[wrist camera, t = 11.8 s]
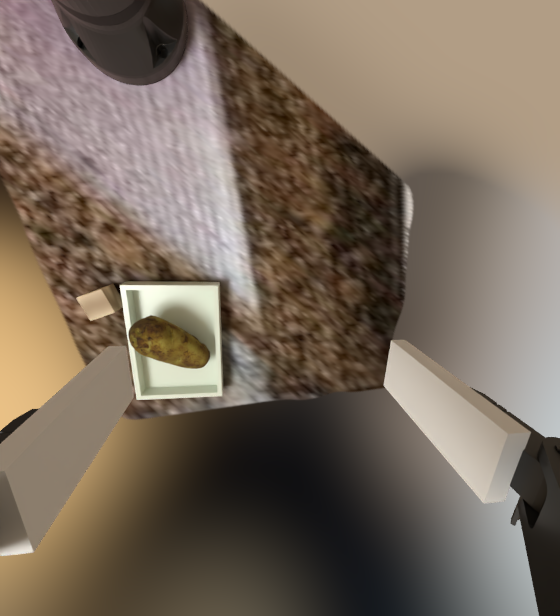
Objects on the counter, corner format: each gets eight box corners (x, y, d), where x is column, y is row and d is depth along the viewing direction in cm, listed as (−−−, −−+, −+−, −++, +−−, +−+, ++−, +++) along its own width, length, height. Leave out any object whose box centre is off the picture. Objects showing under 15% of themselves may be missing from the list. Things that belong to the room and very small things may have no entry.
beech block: (90, 291, 45) (76, 297, 41) (113, 283, 45) (101, 289, 41) (103, 312, 46) (90, 321, 42) (125, 305, 46) (114, 312, 42)
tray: (127, 281, 45) (119, 285, 42) (219, 281, 46) (217, 285, 44) (142, 390, 51) (136, 399, 48) (223, 386, 53) (222, 395, 50)
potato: (179, 374, 50) (167, 401, 43) (133, 319, 46) (111, 338, 38) (217, 352, 50) (212, 375, 42) (174, 295, 46) (159, 309, 38)
